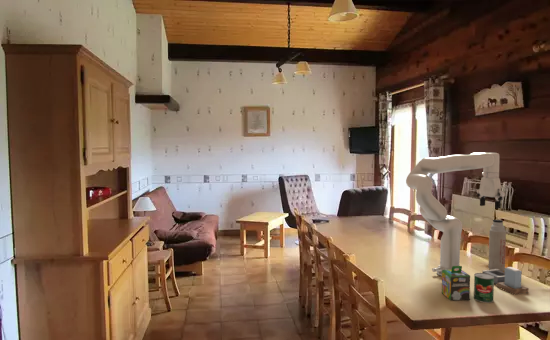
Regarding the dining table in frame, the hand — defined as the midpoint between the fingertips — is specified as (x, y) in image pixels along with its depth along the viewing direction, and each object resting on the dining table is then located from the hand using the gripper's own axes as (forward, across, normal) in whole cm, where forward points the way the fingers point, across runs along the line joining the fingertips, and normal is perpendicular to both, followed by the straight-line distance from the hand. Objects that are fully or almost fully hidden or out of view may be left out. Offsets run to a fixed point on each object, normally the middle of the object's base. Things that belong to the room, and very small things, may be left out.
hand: (490, 207), depth 214 cm
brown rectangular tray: (+36, +24, -12) cm, 45 cm away
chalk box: (+36, +21, -44) cm, 61 cm away
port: (+36, +13, -8) cm, 39 cm away
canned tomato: (+36, +28, -34) cm, 57 cm away
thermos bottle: (+36, -1, +7) cm, 37 cm away
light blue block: (+36, +24, -12) cm, 45 cm away
